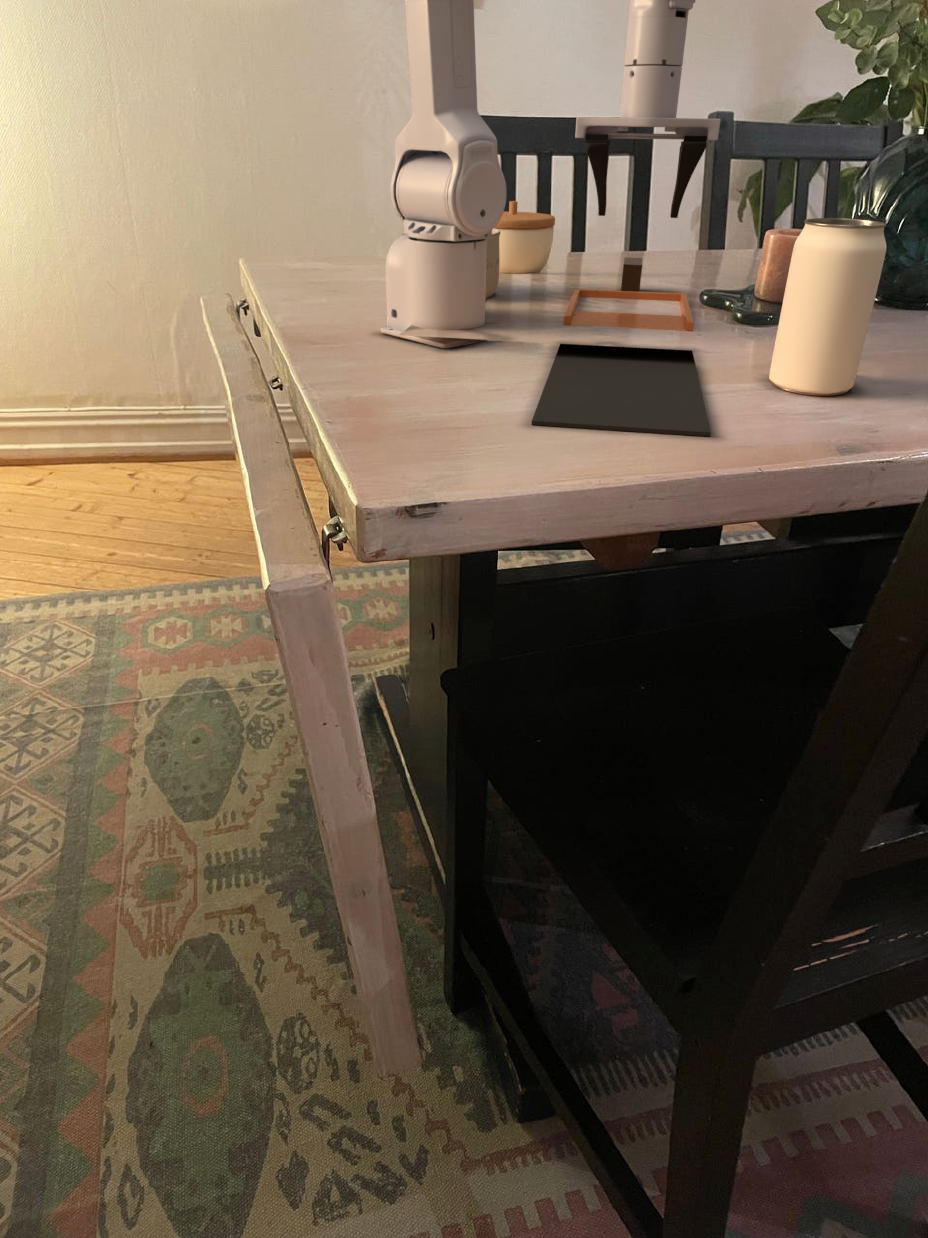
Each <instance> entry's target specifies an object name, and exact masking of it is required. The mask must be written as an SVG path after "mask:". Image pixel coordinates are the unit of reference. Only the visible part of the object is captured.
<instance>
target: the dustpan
mask: <svg viewBox="0 0 928 1238" xmlns="http://www.w3.org/2000/svg"><path fill="white" fill-rule="evenodd" d="M642 270H643V257H626V256H625V257H624V258H623V266H622V278H621V285H620V290H615V289H614V290H610V289H591V288H590V289H587V288H575V289H574V291H573V294H572V296H571V298H570V301H569V304H567V305H568V306H567V308H566V310H565V313H564V315H563V326H575V327H595V328H596V327H597V328H617V329H635V330H659V331H660V330H661V331H676V332H677V331H678V332H680V331H681V332H693V331H694V325H695V320H694V317H693V314H692V310H691V307H690V303H689V300H688V295H687V293H684V292H683V293H682V292H660V291H658V292H657V291H640V289H641V281H642ZM580 298H593V299H594V298H595V299H597V298H598V299H616V300H617V299H618V300H641V301H642V300H643V301H661V302H662V301H663V302H664V301H665V302H679V304H680V308H681V313H682V315H673V314H670V315H668V314H649V313H648V314H647V313H627V312H607V311H606V312H605V311H585V310H583V311H582V310H576V308H577V306H578V303H579V300H580Z"/></svg>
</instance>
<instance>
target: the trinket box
mask: <svg viewBox="0 0 928 1238" xmlns="http://www.w3.org/2000/svg"><path fill="white" fill-rule="evenodd" d="M508 204H509V205H508V211H504V212H503V214H502V217H501V219H500V221H499V222H498V224H497V225H496V226H495V227H494V228H496V229H498V230H500V236H499V274H530V273H531V274H533V273H534V274H540V273H541V272H542V271H543V270H544V268H545V266H546V265H547V263H548V261H549V259H550V255H551V252H552V247H553V240H554V230H555V229H554V228H555V227H554V226H555V225H556V217H555V216H554V215H552V214H548V213H540V212H529V211H518V201H517V200H510V201H509V203H508Z"/></svg>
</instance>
